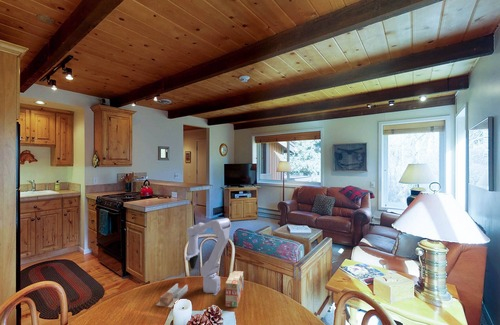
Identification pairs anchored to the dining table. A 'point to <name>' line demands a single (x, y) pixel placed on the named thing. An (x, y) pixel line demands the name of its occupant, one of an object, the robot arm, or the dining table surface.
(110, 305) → the dining table surface
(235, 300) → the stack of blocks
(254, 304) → the dining table surface
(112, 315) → the dining table surface
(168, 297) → the block
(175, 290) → the chute
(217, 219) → the robot arm
